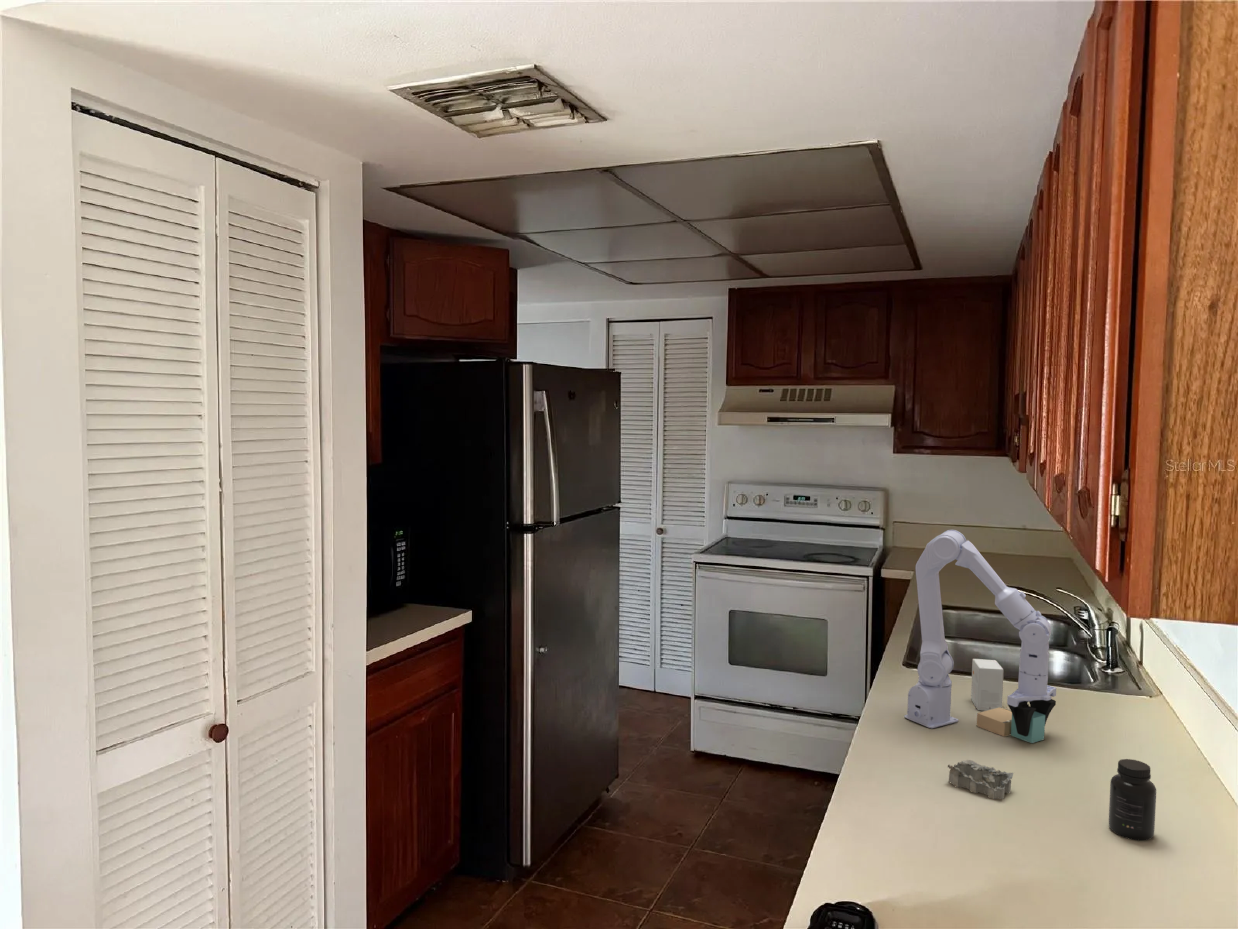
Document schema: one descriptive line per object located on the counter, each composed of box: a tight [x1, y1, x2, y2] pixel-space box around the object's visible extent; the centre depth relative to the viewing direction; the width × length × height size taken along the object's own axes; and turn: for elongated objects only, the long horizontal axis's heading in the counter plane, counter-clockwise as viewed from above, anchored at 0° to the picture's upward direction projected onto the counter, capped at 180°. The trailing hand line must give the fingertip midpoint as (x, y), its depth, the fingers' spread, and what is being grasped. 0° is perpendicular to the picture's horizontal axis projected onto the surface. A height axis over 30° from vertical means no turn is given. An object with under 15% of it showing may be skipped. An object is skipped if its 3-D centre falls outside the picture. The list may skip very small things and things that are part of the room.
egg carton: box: [947, 759, 1014, 800], centre depth 164 cm, size 11×8×4 cm
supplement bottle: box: [1108, 758, 1157, 841], centre depth 147 cm, size 7×7×12 cm
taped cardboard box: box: [976, 707, 1012, 737], centre depth 194 cm, size 8×7×3 cm
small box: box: [970, 658, 1005, 712], centre depth 208 cm, size 8×6×10 cm
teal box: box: [1010, 712, 1046, 744], centre depth 188 cm, size 4×5×6 cm
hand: (1030, 732), depth 188 cm, fingers open, 5 cm apart
